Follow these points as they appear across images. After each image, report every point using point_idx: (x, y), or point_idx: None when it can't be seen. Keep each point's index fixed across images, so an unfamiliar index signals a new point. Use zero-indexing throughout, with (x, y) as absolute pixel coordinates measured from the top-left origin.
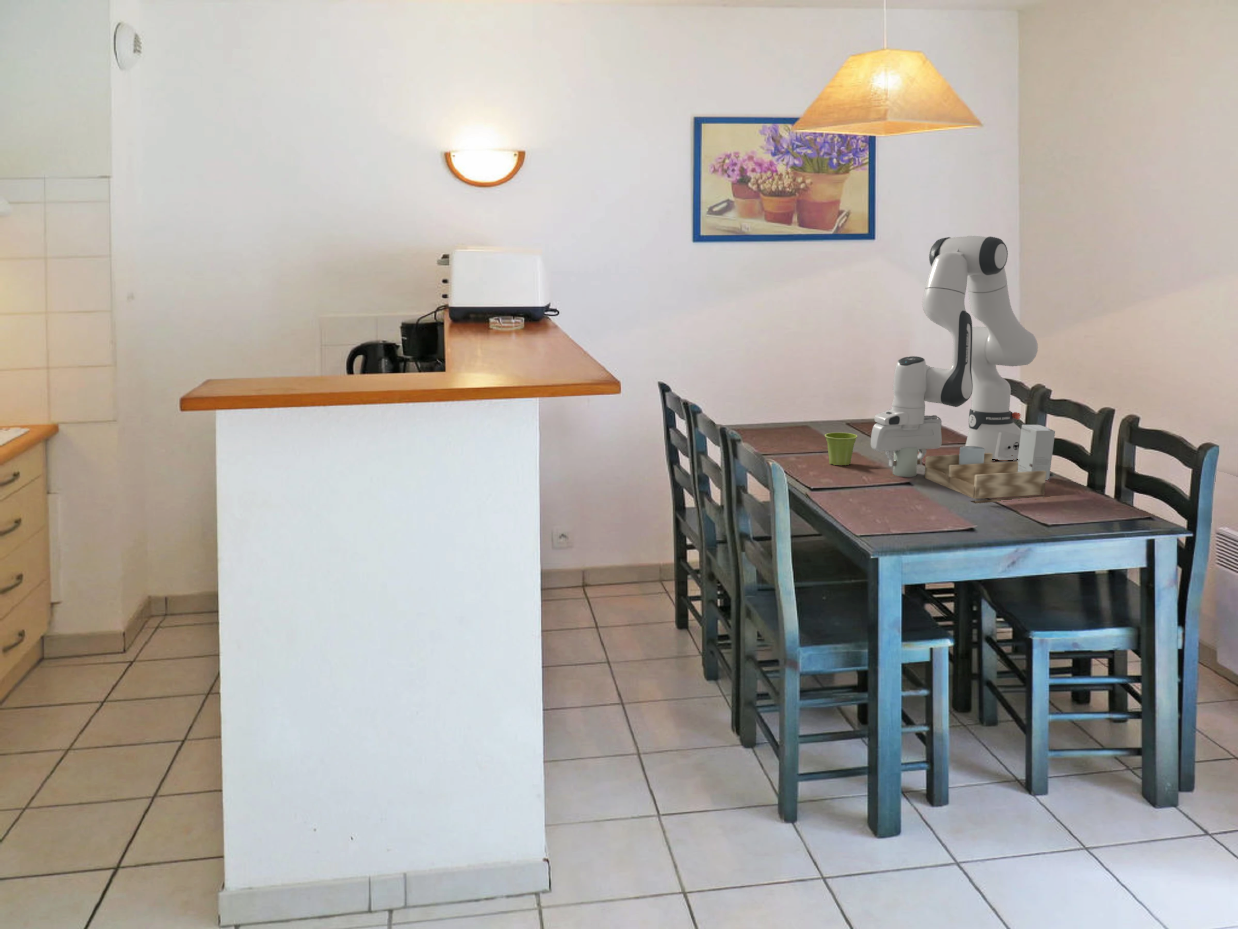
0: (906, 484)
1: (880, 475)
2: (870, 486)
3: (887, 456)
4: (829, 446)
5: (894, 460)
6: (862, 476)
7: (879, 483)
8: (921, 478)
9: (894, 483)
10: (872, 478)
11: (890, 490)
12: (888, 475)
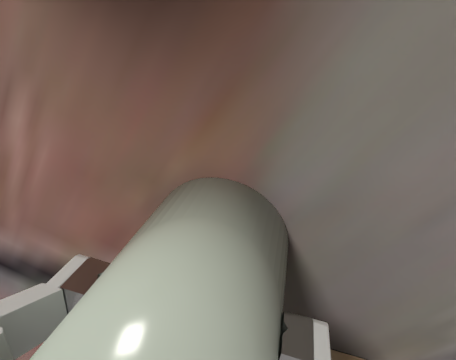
0: None
1: (127, 115)
2: (7, 267)
3: (6, 308)
4: None
5: None
6: (14, 92)
7: (55, 250)
8: (311, 279)
9: None
10: (55, 160)
11: None
12: (175, 137)
